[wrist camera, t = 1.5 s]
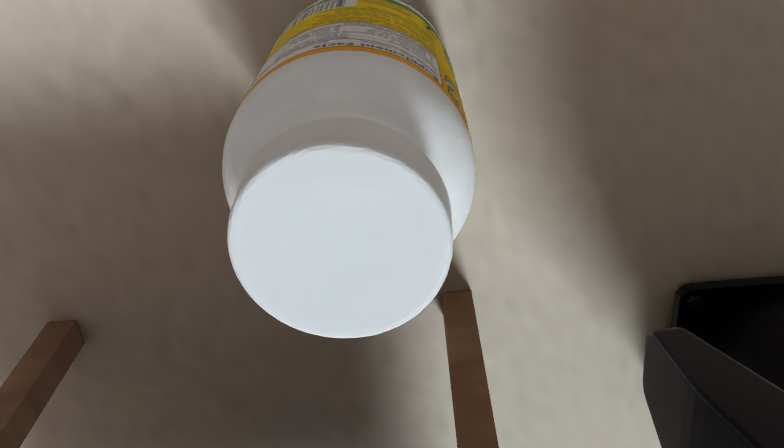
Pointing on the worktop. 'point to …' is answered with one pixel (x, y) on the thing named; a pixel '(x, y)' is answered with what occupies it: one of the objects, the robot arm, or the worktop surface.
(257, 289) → the supplement bottle
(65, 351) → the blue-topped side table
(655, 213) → the worktop surface
